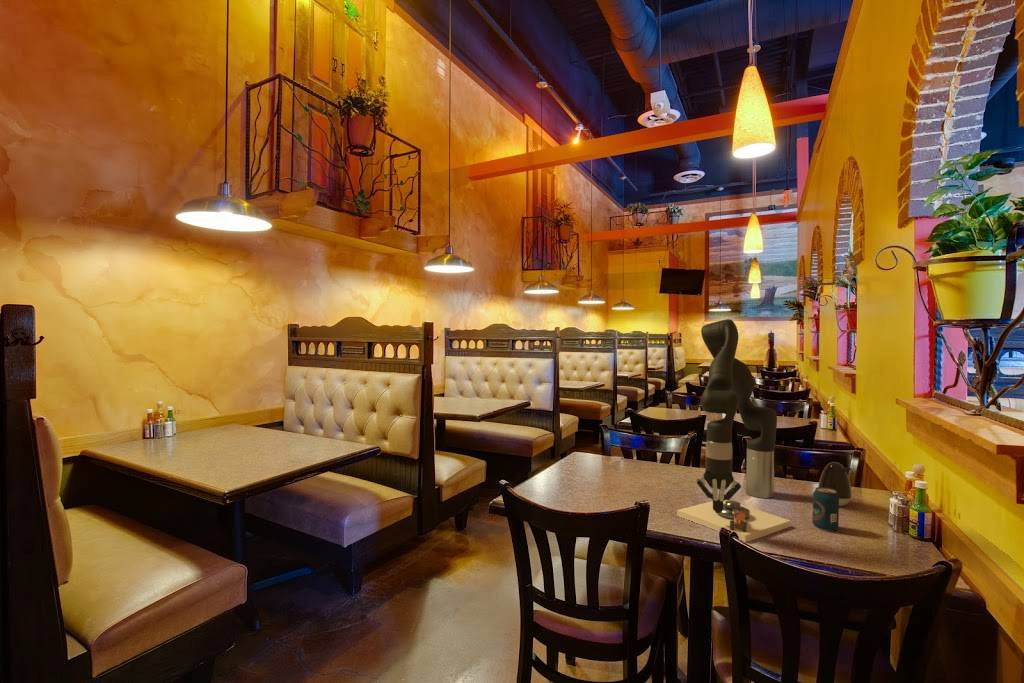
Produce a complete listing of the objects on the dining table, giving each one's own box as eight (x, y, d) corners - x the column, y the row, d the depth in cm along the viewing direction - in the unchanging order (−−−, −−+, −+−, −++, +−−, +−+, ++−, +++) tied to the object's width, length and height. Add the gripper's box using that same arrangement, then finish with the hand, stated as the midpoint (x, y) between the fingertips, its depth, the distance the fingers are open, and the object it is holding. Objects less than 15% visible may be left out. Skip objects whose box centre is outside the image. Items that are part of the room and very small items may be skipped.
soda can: (807, 524, 158) (808, 486, 157) (827, 523, 158) (828, 486, 158) (822, 532, 151) (823, 493, 151) (843, 532, 151) (844, 493, 151)
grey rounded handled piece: (713, 506, 164) (713, 495, 164) (746, 510, 162) (746, 498, 162) (722, 526, 148) (722, 512, 147) (758, 529, 145) (759, 516, 145)
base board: (721, 504, 175) (722, 491, 175) (790, 526, 155) (790, 512, 155) (677, 516, 162) (677, 502, 162) (745, 542, 142) (745, 527, 142)
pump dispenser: (840, 510, 171) (841, 466, 171) (811, 501, 180) (812, 459, 180) (858, 506, 175) (859, 464, 175) (829, 498, 185) (830, 457, 185)
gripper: (696, 456, 148) (695, 513, 148) (744, 460, 144) (743, 519, 144) (695, 451, 155) (694, 505, 156) (740, 454, 151) (739, 510, 152)
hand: (717, 512), depth 150 cm, fingers closed
